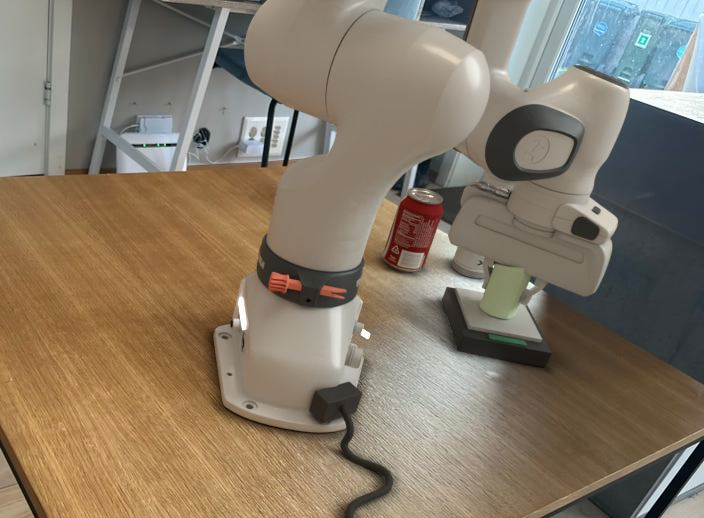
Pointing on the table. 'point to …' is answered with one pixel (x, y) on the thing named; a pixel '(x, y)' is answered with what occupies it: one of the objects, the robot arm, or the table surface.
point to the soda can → (413, 230)
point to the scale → (494, 330)
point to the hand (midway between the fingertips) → (505, 295)
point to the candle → (504, 291)
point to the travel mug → (467, 260)
